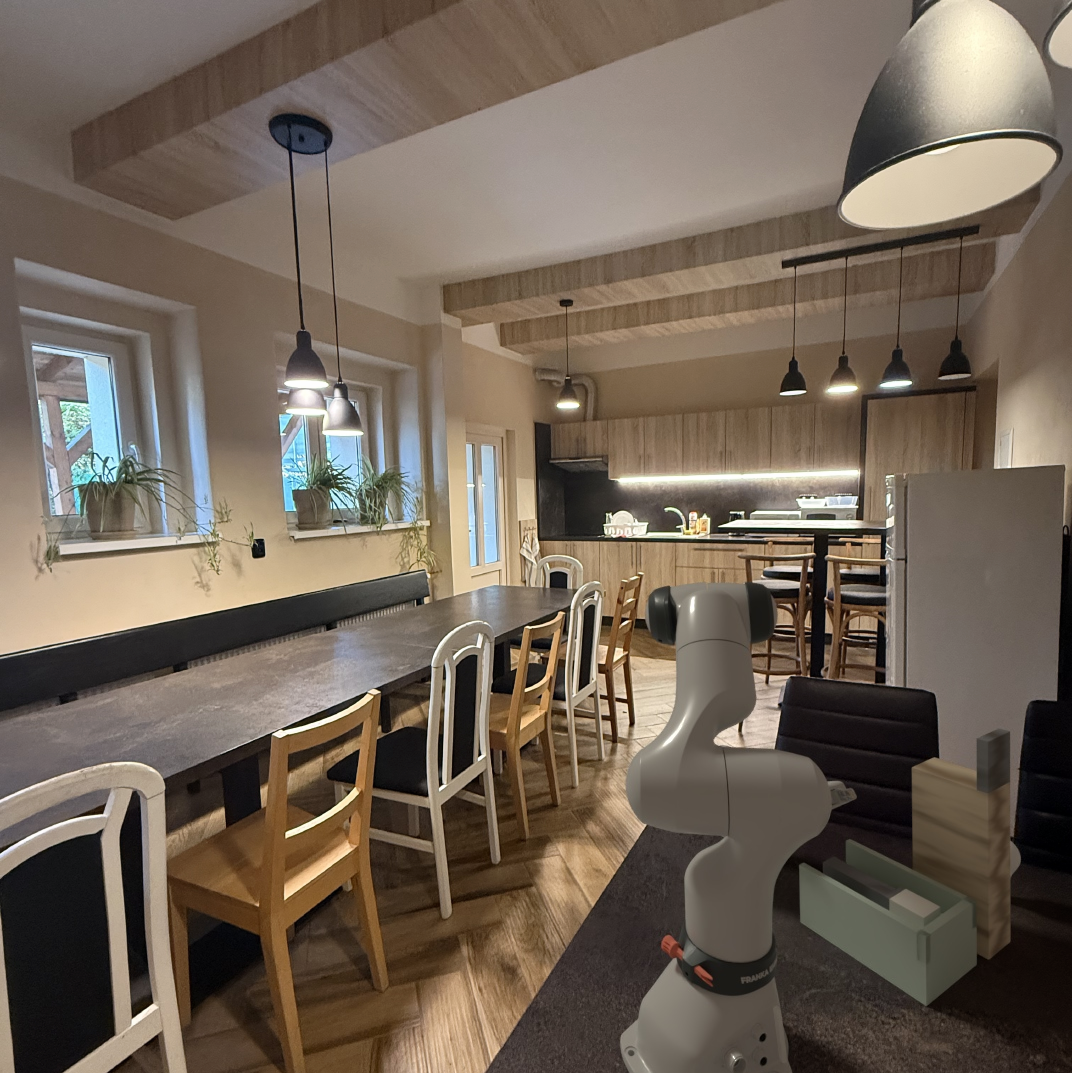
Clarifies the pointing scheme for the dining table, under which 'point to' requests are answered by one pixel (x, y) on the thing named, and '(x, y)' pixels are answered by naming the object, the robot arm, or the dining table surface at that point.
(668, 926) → the dining table surface
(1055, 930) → the dining table surface
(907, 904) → the grey square bar
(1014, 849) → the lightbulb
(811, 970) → the dining table surface
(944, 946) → the bin
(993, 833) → the stand
